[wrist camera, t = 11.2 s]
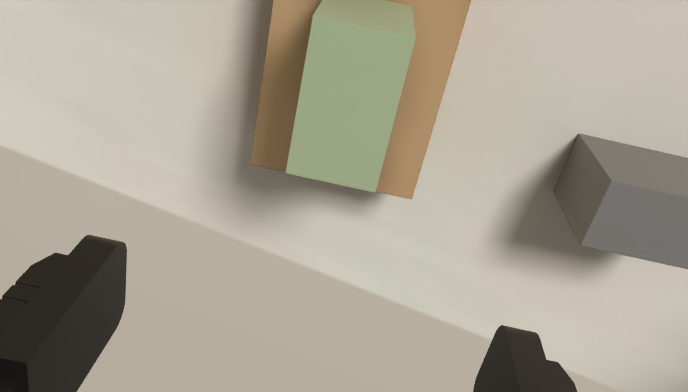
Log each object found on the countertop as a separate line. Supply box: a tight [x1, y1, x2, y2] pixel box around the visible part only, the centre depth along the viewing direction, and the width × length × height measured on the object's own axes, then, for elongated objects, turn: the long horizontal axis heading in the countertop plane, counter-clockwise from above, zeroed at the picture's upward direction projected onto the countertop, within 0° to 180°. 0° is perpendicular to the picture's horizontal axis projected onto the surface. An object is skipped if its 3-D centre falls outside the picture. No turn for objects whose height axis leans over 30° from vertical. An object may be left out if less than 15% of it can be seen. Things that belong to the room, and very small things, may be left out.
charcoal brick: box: [554, 134, 688, 269], centre depth 30 cm, size 6×4×6 cm, turn 78°
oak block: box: [250, 0, 471, 199], centre depth 28 cm, size 8×10×4 cm
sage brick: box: [286, 0, 416, 192], centre depth 24 cm, size 6×4×6 cm, turn 168°
